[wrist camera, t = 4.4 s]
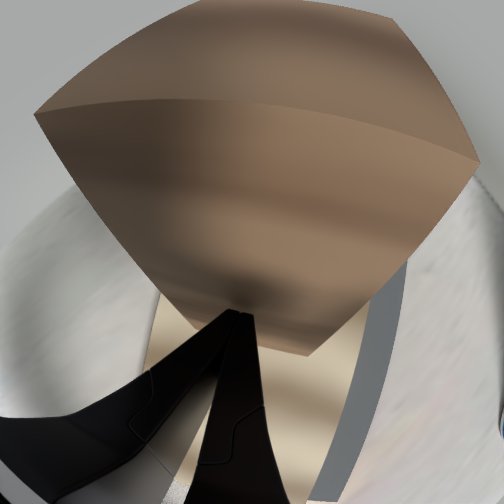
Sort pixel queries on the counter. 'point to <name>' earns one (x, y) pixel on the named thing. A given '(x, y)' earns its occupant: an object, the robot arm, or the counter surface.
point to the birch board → (282, 396)
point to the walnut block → (264, 159)
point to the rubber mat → (362, 389)
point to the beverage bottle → (502, 426)
